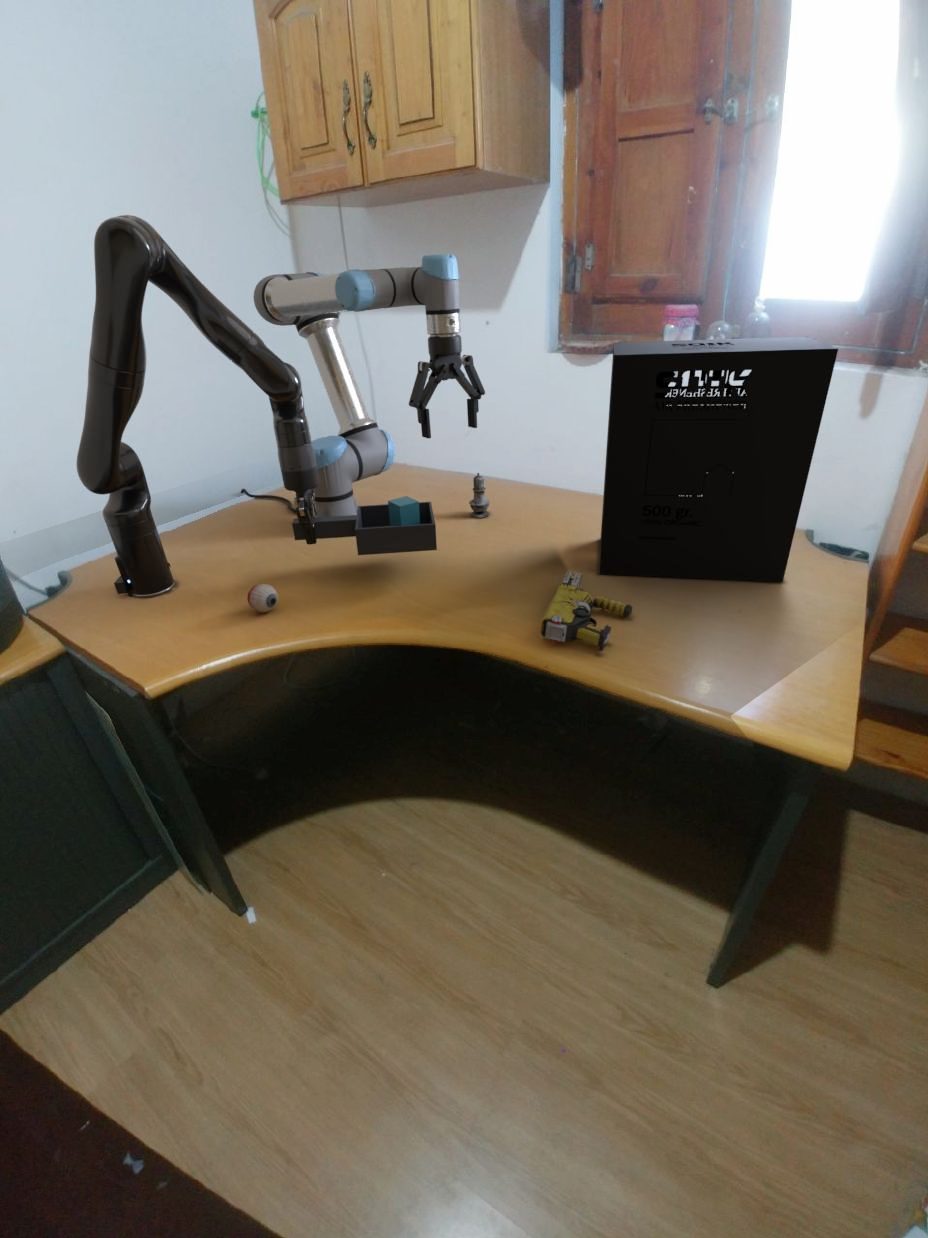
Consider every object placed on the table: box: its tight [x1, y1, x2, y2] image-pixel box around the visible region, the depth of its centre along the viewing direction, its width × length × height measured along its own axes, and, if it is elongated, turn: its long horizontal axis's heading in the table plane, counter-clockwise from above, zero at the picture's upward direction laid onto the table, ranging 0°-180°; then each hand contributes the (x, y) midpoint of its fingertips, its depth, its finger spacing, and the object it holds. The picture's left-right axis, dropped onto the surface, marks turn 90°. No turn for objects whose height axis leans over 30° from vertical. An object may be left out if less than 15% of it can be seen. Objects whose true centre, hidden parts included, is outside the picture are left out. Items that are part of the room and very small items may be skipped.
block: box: [387, 495, 420, 526], centre depth 136 cm, size 5×5×8 cm
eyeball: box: [246, 583, 279, 613], centre depth 126 cm, size 6×6×6 cm
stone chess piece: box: [468, 472, 491, 519], centre depth 168 cm, size 6×6×12 cm
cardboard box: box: [598, 335, 839, 583], centre depth 128 cm, size 38×20×45 cm, turn 78°
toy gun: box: [540, 570, 633, 652], centre depth 116 cm, size 5×24×15 cm
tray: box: [291, 501, 438, 556], centre depth 136 cm, size 31×15×6 cm, turn 96°
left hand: (312, 540), depth 136 cm, fingers closed on tray, 3 cm apart
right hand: (450, 432), depth 145 cm, fingers open, 13 cm apart
